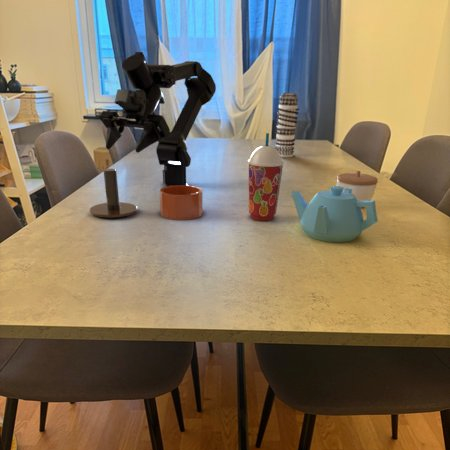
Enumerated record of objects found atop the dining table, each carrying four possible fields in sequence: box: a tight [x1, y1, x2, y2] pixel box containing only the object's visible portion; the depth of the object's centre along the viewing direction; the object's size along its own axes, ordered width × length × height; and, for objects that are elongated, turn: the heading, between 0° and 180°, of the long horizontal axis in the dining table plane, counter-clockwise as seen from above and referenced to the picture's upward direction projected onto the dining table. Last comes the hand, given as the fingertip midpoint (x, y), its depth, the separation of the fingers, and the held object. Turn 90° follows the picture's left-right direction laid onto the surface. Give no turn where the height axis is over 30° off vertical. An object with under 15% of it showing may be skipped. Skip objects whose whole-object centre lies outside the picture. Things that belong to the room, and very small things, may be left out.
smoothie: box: [247, 132, 284, 222], centre depth 104 cm, size 8×8×20 cm
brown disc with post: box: [89, 168, 138, 219], centre depth 107 cm, size 12×12×11 cm
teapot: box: [290, 185, 379, 243], centre depth 96 cm, size 15×15×11 cm
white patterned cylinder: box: [274, 92, 300, 158], centre depth 186 cm, size 9×9×25 cm
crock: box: [158, 184, 203, 221], centre depth 109 cm, size 11×11×6 cm
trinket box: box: [336, 170, 379, 209], centre depth 119 cm, size 11×11×9 cm
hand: (121, 149), depth 110 cm, fingers open, 9 cm apart
